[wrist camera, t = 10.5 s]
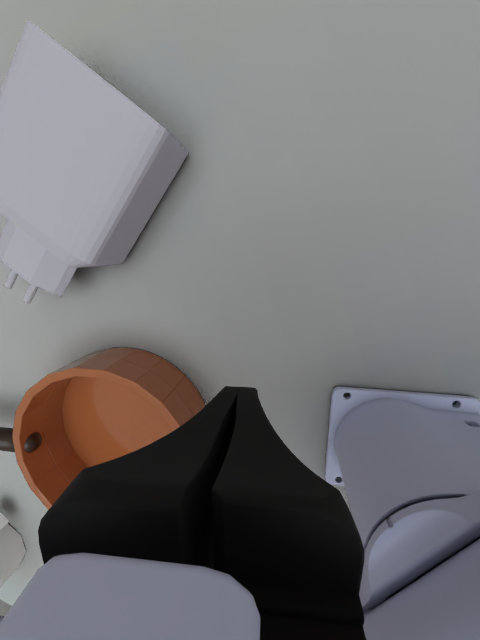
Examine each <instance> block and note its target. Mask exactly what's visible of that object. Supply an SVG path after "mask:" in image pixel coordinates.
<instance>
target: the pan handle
mask: <svg viewBox="0 0 480 640" xmlns="http://www.w3.org/2000/svg"><path fill="white" fill-rule="evenodd" d="M12 435H13V429H12V428H4V427H0V450H2V451H10V452H15V449H14V444H13V439H12ZM41 443H42V436H41V435H40V433H38V432H34V433H32V434H31V435H30V436H29V437H28V438H27V440H26V442H25V445H24V449H25V451H26V452H27V453H32V452H34V451H36V450H37V449H38V448H39V447H40V445H41Z"/></svg>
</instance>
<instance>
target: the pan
mask: <svg viewBox="0 0 480 640" xmlns="http://www.w3.org/2000/svg"><path fill="white" fill-rule="evenodd" d="M204 407H205V403H204V401H203V399H202V397H201V395H200V394H199V392H198V391H197V389H196V388H195V386H194V385H193V383H192V382H191V381H190V380H189V379H188V378H187V377H186V375H184V374H183V373H182V372H181V371H180V370H179V369H178V368H177V367H175V366H174V365H172V364H171V363H169V362H168V361H166V360H165V359H163V358H161V357H159V356H157V355H154V354H152V353H149V352H147V351H143V350H139V349H134V348H109V349H104V350H101V351H97V352H95V353H92V354H89V355H86V356H84V357H82V358H80V359H78V360H76V361H74V362H72V363H70V364H68V365H66V366H64V367H62V368H60V369H58V370H56V371H54V372H52V373H50V374H48V375H47V376H45V377H44V378H43V379H41V380H40V381H39V382H38V383H36V384H35V385H34V386H32V387H31V388H30V389H29V390H28V391H27V392H26V394H25V395H24V397H23V399H22V401H21V403H20V405H19V406H18V408H17V410H16V413H15V419H14V427H13V435H12V439H13V444H14V449H15V454H16V459H17V462H18V465H19V467H20V469H21V471H22V473H23V475H24V477H25V479H26V481H27V483H28V485H29V487H30V489H31V490H32V491H33V492H34V493H35V495H36V496H37V497H38V498H39V499H40V501H41V502H42V503H43V504H44V505H45V506H46V508H47V509H50V508H51V506H52V505H53V504H54V503H55V501H56V500H57V499H58V498H59V497H60V495H61V494H62V493H63V492H64V490H65V489H66V488H67V487H68V486H69V484H70V483H71V482H72V481H73V480H74V479H75V477H76V476H77V475H78V474H79V473H80V472H81V471H82V470H83V469H85V468H88V467H91V466H95V465H98V464H101V463H104V462H107V461H110V460H113V459H116V458H118V457H121V456H124V455H126V454H129V453H131V452H133V451H136V450H138V449H140V448H142V447H145V446H147V445H149V444H151V443H153V442H154V441H156V440H158V439H160V438H162V437H164V436H166V435H167V434H169V433H171V432H172V431H174V430H175V429H177V428H179V427H180V426H182V425H183V424H184V423H186V422H187V421H188V420H190V419H191V418H192V417H193V416H195V415H196V414H197V413H198V412H199V411H201V410H202V409H203V408H204ZM34 432H38V433H40V435H41V436H42V443H41V445H40V447H39V448H38V449H37V450H36V451H34V452H32V453H27V452H26V451H25V449H24V445H25V442H26V440H27V438H28V437H29V436H30V435H31V434H32V433H34Z"/></svg>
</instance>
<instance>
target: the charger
mask: <svg viewBox="0 0 480 640" xmlns="http://www.w3.org/2000/svg"><path fill="white" fill-rule="evenodd" d="M187 155H188V152H187V151H186V150H185V149H184V148H183V147H182V146H181V144H180V143H179V142H178V141H177V140H176V139H175V138H174V137H173V136H172V135H171V134H170V133H169V132H168V131H167V130H166V129H165V128H163V127H162V126H161V125H160V124H159V123H158V122H156V121H155V120H154V119H153V118H152V117H150V116H149V115H148V114H147V113H146V112H144V111H143V110H142V109H141V108H139V107H138V106H137V105H136V104H134V103H133V102H132V101H131V100H129V99H128V98H127V97H126V96H124V95H123V94H122V93H120V92H119V91H118V90H117V89H115V88H114V87H113V86H112V85H110V84H109V83H108V82H107V81H105V80H104V79H103V78H102V77H100V76H99V75H98V74H96V73H95V72H94V71H93V70H91V69H90V68H89V67H88V66H86V65H85V64H84V63H83V62H81V61H80V60H79V59H78V58H76V57H75V56H74V55H72V54H71V53H70V52H69V51H67V50H66V49H65V48H64V47H62V46H61V45H60V44H59V43H57V42H56V41H55V40H54V39H52V38H51V37H50V36H48V35H47V34H46V33H45V32H43V31H42V30H41V29H40V28H38V27H37V26H36V25H34V24H33V23H32V22H30V21H29V20H27V22H26V25H25V28H24V30H23V33H22V36H21V38H20V41H19V44H18V46H17V49H16V51H15V54H14V57H13V59H12V62H11V65H10V67H9V70H8V73H7V75H6V78H5V81H4V83H3V86H2V89H1V91H0V213H1V214H2V215H3V216H5V217H6V218H7V219H8V221H7V223H6V225H5V227H4V230H3V232H2V234H1V237H0V260H1V261H2V262H3V263H5V264H6V265H7V266H8V267H10V268H11V271H10V273H9V275H8V277H7V279H6V281H5V283H4V286H5V288H8V289H11V288H12V286H13V284H14V282H15V280H16V278H17V276H18V274H19V275H20V276H21V277H23V278H24V279H25V280H26V281H28V282H29V283H31V284H30V286H29V288H28V290H27V292H26V294H25V296H24V298H23V301H24V302H25V303H31V301H32V299H33V297H34V295H35V293H36V291H37V289H38V287H39V288H41V289H44V290H46V291H48V292H50V293H52V294H55V295H59V296H62V295H63V293H64V291H65V289H66V287H67V285H68V284H69V282H70V280H71V278H72V276H73V274H74V273H75V271H76V269H77V268H80V267H96V266H108V265H115V264H122V263H123V262H124V260H125V258H126V257H127V255H128V253H129V252H130V250H131V248H132V247H133V245H134V243H135V242H136V240H137V238H138V237H139V235H140V233H141V232H142V230H143V228H144V227H145V225H146V223H147V222H148V220H149V218H150V217H151V215H152V213H153V212H154V210H155V208H156V207H157V205H158V203H159V202H160V200H161V198H162V197H163V195H164V193H165V192H166V190H167V188H168V187H169V185H170V183H171V182H172V180H173V178H174V177H175V175H176V173H177V172H178V170H179V168H180V167H181V165H182V163H183V162H184V160H185V158H186V157H187Z"/></svg>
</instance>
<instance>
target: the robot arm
mask: <svg viewBox="0 0 480 640" xmlns="http://www.w3.org/2000/svg"><path fill="white" fill-rule="evenodd" d="M346 392H348V393H350V395H349V396H346V397H345V396H343V395H344V393H346ZM454 401H457V403H456V404H455V405H452V403H453V402H454ZM479 413H480V401H479V400H478V399H476V398H475V397H472V396H460V395H447V394H433V393H420V392H406V391H393V390H379V389H366V388H352V387H335V388H334V389H333V390H332V395H331V407H330V419H329V430H328V442H327V453H326V465H325V480H326V481H327V482H328V483H327V482H326V481H324V480H323V479H322V478H320V477H319V476H317V475H316V474H315V473H313V472H312V471H311V470H310V469H309V468H307V467H306V466H305V465H304V464H303V463H302V462H301V461H300V460H299V459H298V458H297V457H296V456H295V455H294V454H293V453H292V452H291V451H290V450H289V449H288V448H287V446H286V445H285V444H284V443H283V441H282V440H281V439H280V437H279V436H278V435H277V433H276V432H275V430H274V429H273V427H272V425H271V424H270V422H269V420H268V419H267V417H266V415H265V413H264V410H263V408H262V406H261V404H260V401H259V398H258V393H257V390H256V388H249V387H229V386H225V387H224V388H223V389H222V390H221V391H220V392H219V393H218V394H217V395H216V396H215V397H214V398H213V399H212V400H211V401H210V402H209V403H208V404H207V405H206V406H205V407H204V408H203V409H202V410H201V411H199V412H198V413H197V414H196V415H195V416H193V417H192V418H191V419H190V420H188V421H187V422H186V423H184V424H183V425H182V426H180V427H179V428H177V429H175V430H174V431H172V432H171V433H169V434H167V435H166V436H164V437H162V438H160V439H158V440H156V441H154V442H153V443H151V444H149V445H147V446H145V447H142V448H140V449H138V450H136V451H133V452H131V453H129V454H126V455H124V456H121V457H118V458H116V459H113V460H110V461H107V462H104V463H101V464H98V465H95V466H91V467H88V468H85V469H83V470H82V471H81V472H80V473H79V474H78V475H77V476H76V477H75V479H74V480H73V481H72V482H71V483H70V484H69V486H68V487H67V488H66V489H65V490H64V492H63V493H62V494H61V495H60V497H59V498H58V499H57V500H56V501H55V503H54V504H53V505H52V506H51V508H50V509H49V510H48V511H47V513H46V514H45V515H44V517H43V518H42V519H41V522H40V526H39V530H38V534H39V545H40V549H41V553H42V557H43V561H44V565H43V566H42V567H41V568H40V569H38V571H37V572H36V573H35V575H34V576H33V578H32V579H31V580H30V582H29V583H28V585H27V586H26V588H25V589H24V590H23V592H22V593H21V595H20V596H19V597H18V599H17V600H16V602H15V603H14V604H13V606H12V607H11V609H10V610H9V612H8V613H7V615H6V616H0V640H480V415H479ZM337 477H341V478H340V479H336V478H337ZM330 484H335V485H343V486H344V487H345V491H346V495H347V499H348V502H349V506H350V510H351V513H350V511H349V508H348V506H347V504H346V502H345V500H344V499H343V497H342V495H341V493H340V491H339V490H337V489H336V488H334V487H333V486H332V485H330ZM351 514H352V515H351Z"/></svg>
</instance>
